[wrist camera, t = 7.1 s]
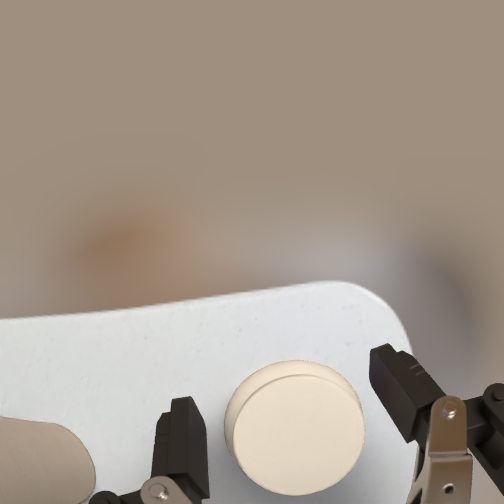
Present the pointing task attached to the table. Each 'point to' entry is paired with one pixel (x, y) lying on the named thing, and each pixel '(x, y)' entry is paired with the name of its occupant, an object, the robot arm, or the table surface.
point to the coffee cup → (42, 464)
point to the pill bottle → (295, 427)
